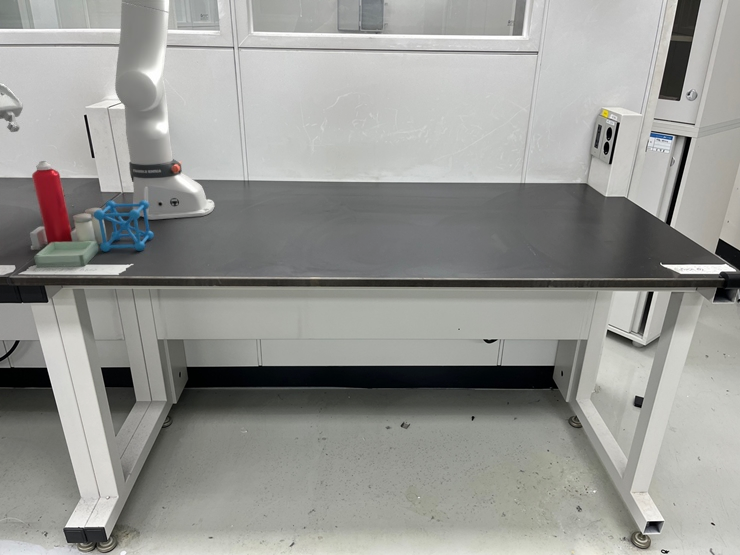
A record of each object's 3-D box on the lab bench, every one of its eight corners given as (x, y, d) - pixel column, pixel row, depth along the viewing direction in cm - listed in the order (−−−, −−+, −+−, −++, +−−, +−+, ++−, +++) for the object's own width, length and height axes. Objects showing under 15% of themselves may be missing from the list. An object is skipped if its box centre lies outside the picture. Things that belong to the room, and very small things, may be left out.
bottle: (45, 250, 129) (25, 164, 121) (52, 242, 134) (33, 159, 126) (70, 248, 130) (52, 164, 122) (77, 241, 135) (59, 158, 127)
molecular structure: (113, 238, 137) (106, 199, 133) (155, 237, 138) (149, 198, 134) (99, 253, 128) (91, 211, 124) (144, 252, 129) (137, 211, 125)
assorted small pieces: (113, 235, 139) (108, 204, 136) (84, 265, 121) (77, 231, 118) (47, 236, 138) (40, 205, 134) (8, 267, 119) (-2, 232, 116)
